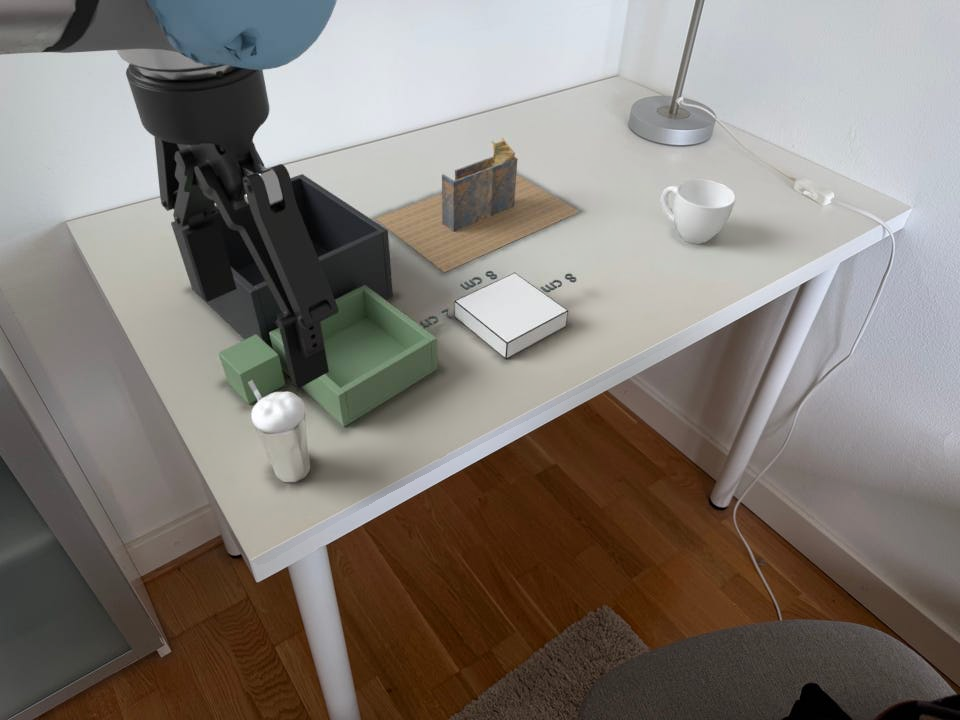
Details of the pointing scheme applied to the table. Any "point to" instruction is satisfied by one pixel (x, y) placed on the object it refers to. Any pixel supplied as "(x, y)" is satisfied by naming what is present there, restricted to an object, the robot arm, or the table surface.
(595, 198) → the table surface
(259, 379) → the green block
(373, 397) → the green bin
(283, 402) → the milkshake
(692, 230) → the cup
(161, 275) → the table surface
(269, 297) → the dark bin
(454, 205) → the architectural model on board
